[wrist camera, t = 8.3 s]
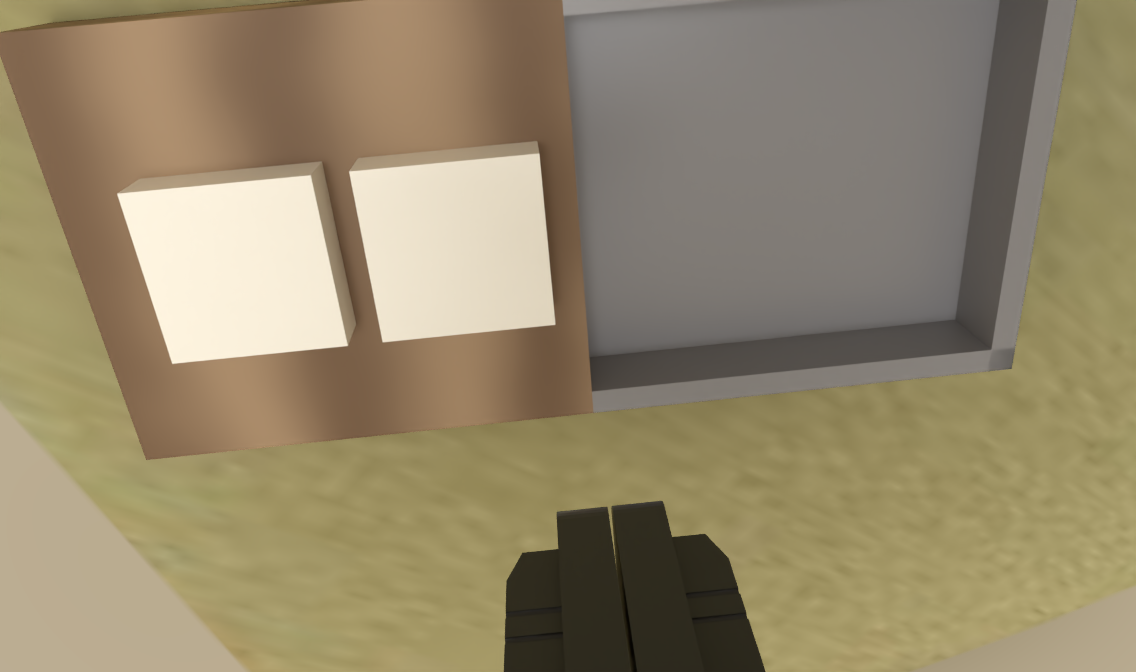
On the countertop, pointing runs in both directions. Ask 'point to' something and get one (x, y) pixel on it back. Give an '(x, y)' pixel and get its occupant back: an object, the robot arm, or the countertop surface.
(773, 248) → the bin
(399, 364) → the wooden switch plate
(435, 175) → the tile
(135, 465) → the countertop surface
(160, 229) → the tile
